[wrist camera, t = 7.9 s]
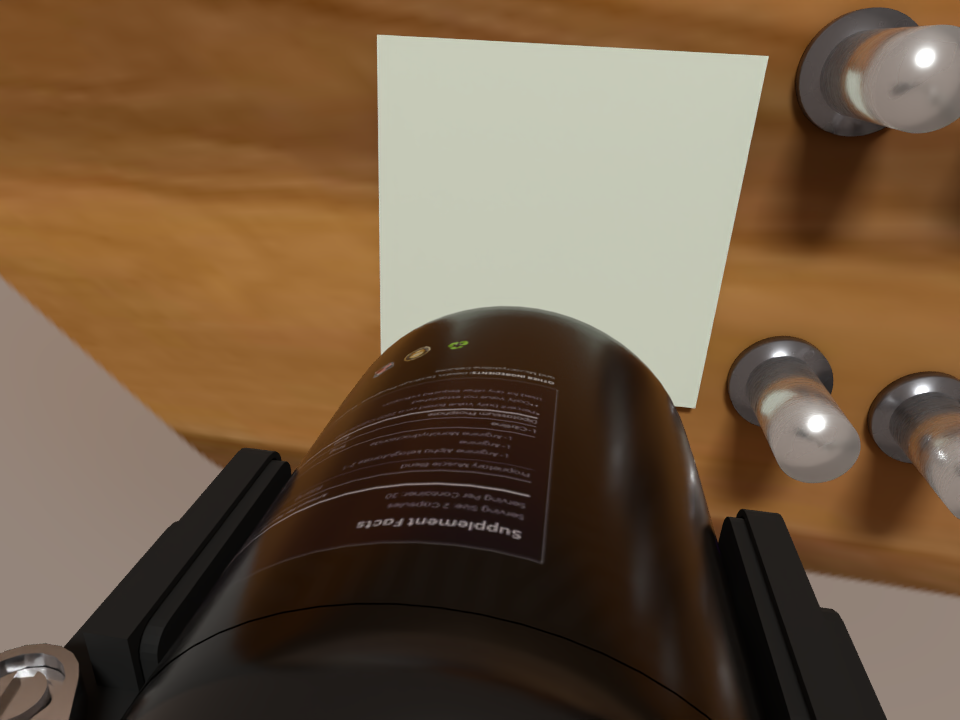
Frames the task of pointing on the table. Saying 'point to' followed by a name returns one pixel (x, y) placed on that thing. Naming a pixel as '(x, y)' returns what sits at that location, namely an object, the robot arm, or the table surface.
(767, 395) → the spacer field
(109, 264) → the table surface
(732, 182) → the sage pad
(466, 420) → the supplement bottle
